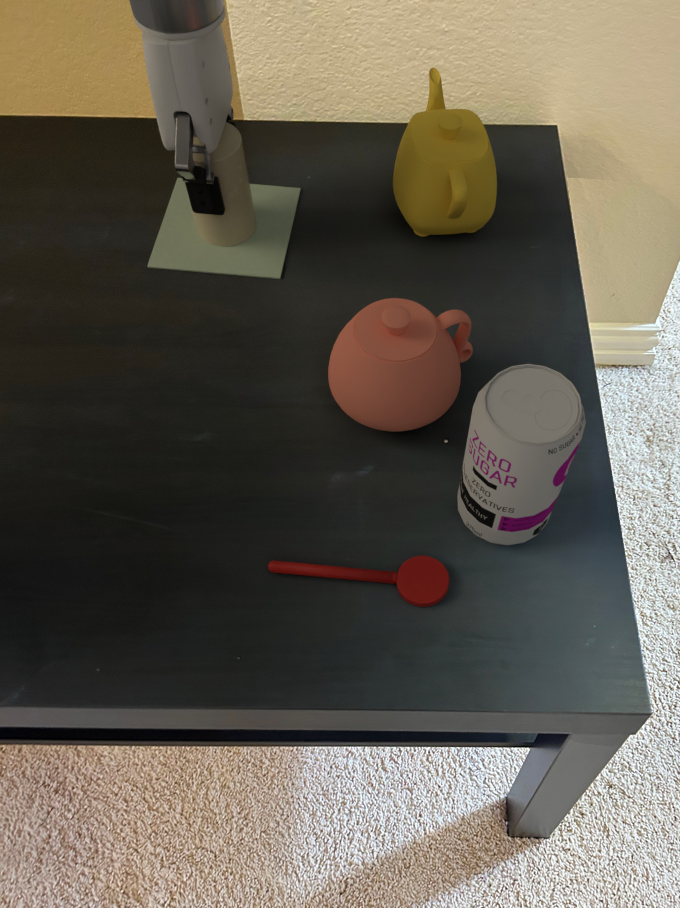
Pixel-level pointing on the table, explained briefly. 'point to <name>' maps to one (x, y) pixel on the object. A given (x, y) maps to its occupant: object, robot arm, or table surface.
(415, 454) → the table surface
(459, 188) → the teapot
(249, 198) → the beige cylinder
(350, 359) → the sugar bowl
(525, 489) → the supplement can
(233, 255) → the mat
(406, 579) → the spoon
